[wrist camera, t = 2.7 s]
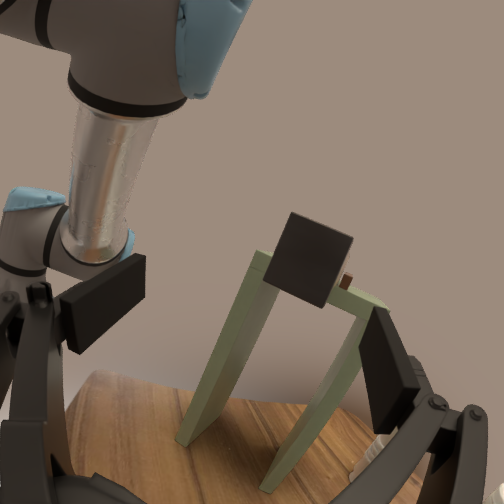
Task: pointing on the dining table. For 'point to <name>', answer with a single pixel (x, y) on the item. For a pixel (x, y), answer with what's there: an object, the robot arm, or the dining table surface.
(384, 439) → the candle
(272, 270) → the slide bar
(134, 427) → the dining table surface
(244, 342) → the shelf stand
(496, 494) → the supplement tub
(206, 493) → the dining table surface
